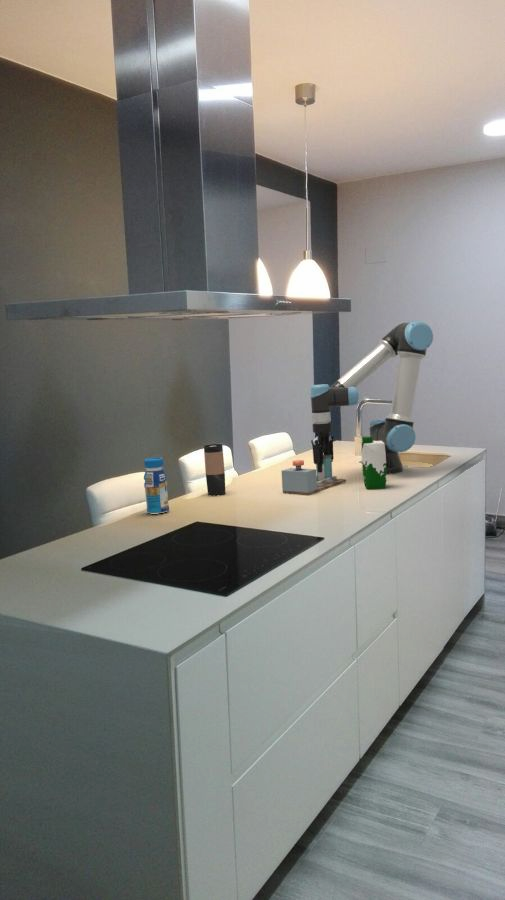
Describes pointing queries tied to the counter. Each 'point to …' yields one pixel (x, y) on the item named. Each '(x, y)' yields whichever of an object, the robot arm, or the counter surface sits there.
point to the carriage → (326, 466)
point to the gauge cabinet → (299, 480)
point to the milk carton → (373, 463)
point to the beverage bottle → (155, 486)
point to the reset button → (298, 464)
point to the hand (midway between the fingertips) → (324, 478)
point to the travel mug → (214, 469)
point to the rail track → (321, 485)
